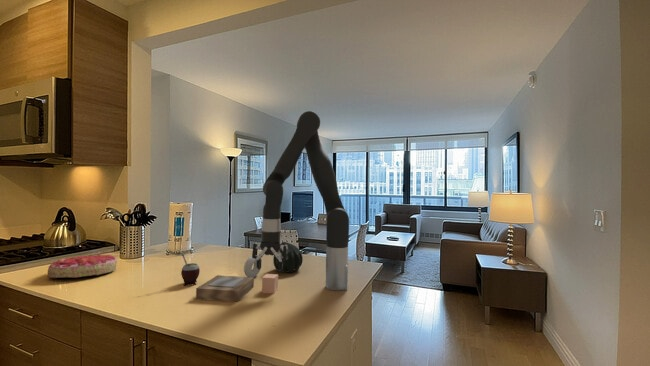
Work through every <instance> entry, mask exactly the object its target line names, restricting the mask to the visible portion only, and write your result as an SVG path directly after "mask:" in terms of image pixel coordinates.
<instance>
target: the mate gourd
mask: <svg viewBox="0 0 650 366" xmlns="http://www.w3.org/2000/svg"><path fill="white" fill-rule="evenodd" d="M175 250H176V251H177V252H178V253H180V255H181V256H182V258H183V261H184V263H185V264H184V265H183V267H182V268H181V273H180V274H181V278H182V280H183V287H186V285H187V286H189V285H191V284H193V286H196V285H197V282H198V281H197V280H198V278H199V276H200V266H199V265H198V264H197V263H193V262H192V263H191V262H190V263H187V260H186V257H185V254H184V253H183V252H182V251H181V250H180V249H175ZM188 284H189V285H188Z"/></svg>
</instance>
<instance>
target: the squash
mask: <svg viewBox="0 0 650 366" xmlns="http://www.w3.org/2000/svg"><path fill="white" fill-rule="evenodd" d="M280 244H281V245H286V244H287V245H288V259H287V260H286V261H283V269H282V270H281V271H280V272H282V273H287V272H288V273H293V272H294V271H296V270H299V268H300V267H301V266H302V264H303V260H304V259H303V254H302V252H301V250H300V249H299V247H298V246H295V245H294V244H291V243H290V242H286V241H282V242H280ZM279 252H280V253H281V255H282V257H283V250H282V248H280V249H279ZM278 265H279V260H278V259H277V258H276V256H275V255H273V266H274V268H275V269H276V270H277V271H278Z"/></svg>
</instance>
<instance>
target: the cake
mask: <svg viewBox="0 0 650 366" xmlns="http://www.w3.org/2000/svg"><path fill="white" fill-rule="evenodd" d="M117 264H118V259H117V258H116V257H115V256H114V255H110V254H103V255H102V254H97V255H93V254H91V255H88V256H87V255H80V256H73V257H68V258H60V259H57V260H56V261H55V262H52V263H51V264H50V265H49V266H48V269H47V275H46V276H47V277H48V278H50V279H51V280H52V279H54V280H55V279H58V278H64V279H66V278H81V277H91V276H94V277H97V276H102V275H105V274H106V275H107V274H110V273H113V272H114V271H115V270H116V269H117V266H118V265H117Z"/></svg>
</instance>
